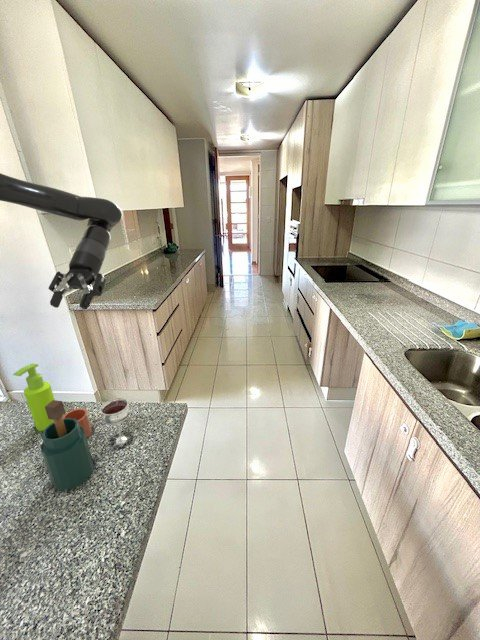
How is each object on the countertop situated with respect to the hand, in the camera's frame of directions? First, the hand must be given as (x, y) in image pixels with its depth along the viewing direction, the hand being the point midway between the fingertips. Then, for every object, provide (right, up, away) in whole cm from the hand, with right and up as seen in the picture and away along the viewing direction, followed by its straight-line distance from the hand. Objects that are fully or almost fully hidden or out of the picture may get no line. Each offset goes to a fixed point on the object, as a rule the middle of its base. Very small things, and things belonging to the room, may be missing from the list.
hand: (68, 307), depth 69 cm
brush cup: (+1, -36, +3) cm, 36 cm away
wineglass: (+14, -37, +1) cm, 39 cm away
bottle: (+7, -40, -8) cm, 42 cm away
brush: (+7, -40, -8) cm, 41 cm away
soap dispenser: (-10, -35, +6) cm, 37 cm away
